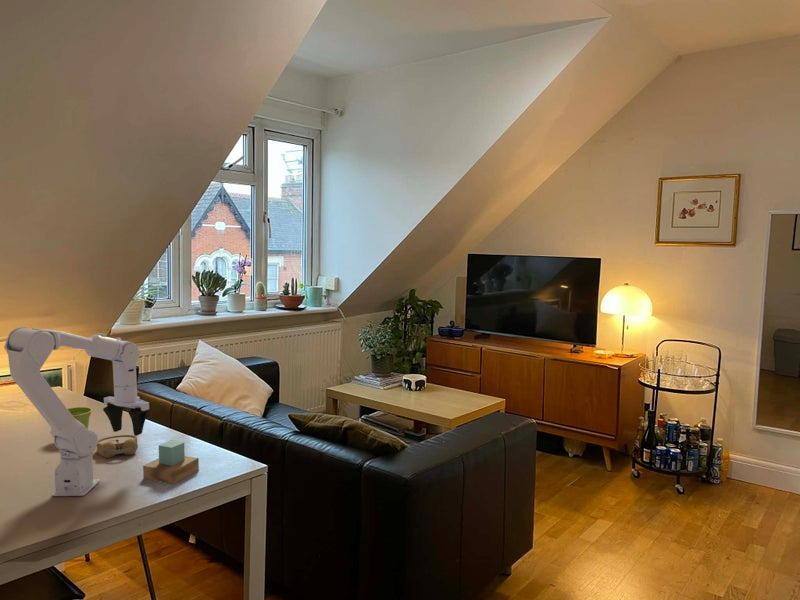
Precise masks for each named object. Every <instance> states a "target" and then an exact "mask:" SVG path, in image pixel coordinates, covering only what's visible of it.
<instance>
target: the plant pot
mask: <svg viewBox="0 0 800 600" xmlns="http://www.w3.org/2000/svg"><path fill="white" fill-rule="evenodd" d="M67 409H68V410H69V412H70V413H71V414H72V416H73V417H74V418H75V419H76V420H77V421H79V422H80V423H82V424H83V425H84V426H85V427H86V428H87V429H88V430H89V422H90V416H91V413H92V412H93V408H91V407H87V406H77V407H75V406H74V407H68V408H67Z"/></svg>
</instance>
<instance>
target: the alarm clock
mask: <svg viewBox="0 0 800 600" xmlns="http://www.w3.org/2000/svg"><path fill="white" fill-rule="evenodd" d="M138 448H139V445H138V435H137V436H135V435H134V434H119V435H112V436H107V437H103V438H100V439H98V444H97V447H96V453H97V454H98V455H101V457H102V458H103V459H111V458H113V457H115V455H121V454H124V456H125V455H126V456H131V454H132V455H133V454H134V455H135V454H136V452H137V450H138ZM110 457H111V458H110Z"/></svg>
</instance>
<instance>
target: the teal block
mask: <svg viewBox="0 0 800 600" xmlns="http://www.w3.org/2000/svg"><path fill="white" fill-rule="evenodd" d="M185 456H186V455H185V442H183V441H178V440H169V441H165V442H163V443H160V444H159V445H158V458H159V463H160V464H165V465H170V466H173V465H176V464H178V463H180V462H182V461H185Z"/></svg>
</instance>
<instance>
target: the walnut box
mask: <svg viewBox="0 0 800 600" xmlns="http://www.w3.org/2000/svg"><path fill="white" fill-rule="evenodd" d="M199 459H200V458H199V457H194V456H188V455H185V461H182V462H180V463H178V464H176V465H173V466H170V465H165V464H160V463H159V457H158V458H156V459H154V460H152V461H150V462H148V463H146V464H144V465H142V466H143V467H142V471H143V473H142V475H143V480H147V479H150V480H149V481H153V480H155V482H159V481H161V482H160V483H165V482H166V484H170V485H176V484H178V483H179V482H182V481H183V480H185V479H186V477H187V478H188V477H190V476H192V475H193V473H194V474H195V473H197V472H199V470H200V467H199V465H200V463H199V462H200V461H199ZM191 474H192V475H191ZM189 475H190V476H189ZM184 478H185V479H184Z"/></svg>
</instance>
